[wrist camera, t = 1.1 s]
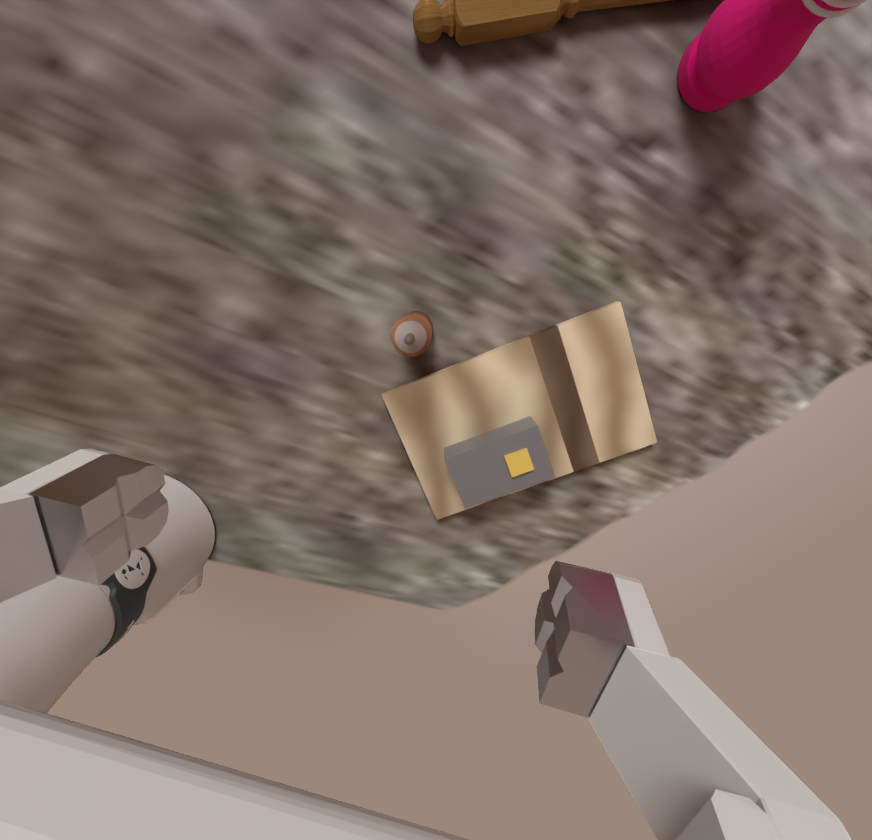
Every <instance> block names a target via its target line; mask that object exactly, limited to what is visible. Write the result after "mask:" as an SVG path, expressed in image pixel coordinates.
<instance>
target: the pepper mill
mask: <svg viewBox="0 0 872 840" xmlns="http://www.w3.org/2000/svg"><path fill="white" fill-rule="evenodd" d="M865 1H866V0H724V1H723V2H722V3H721V4H720V5H719V6H718V7H717V8H716V10H715V11H714V12H713V13H712V15H711V16H710V18H709V19H708V21H707V23H706V24H705V26H704V29H703V31H702V32H701V33H700V34H699V35H698V36H697V37H696V38H695V39H694V40H693V41H692V42H691V44H690V45H689V46H688V48H687V49H686V51H685V52H684V54H683V57H682V59H681V62H680V65H679V70H678V86H679V90H680V93H681V95H682V97H683V99H684V101H685V102H686V103H687V104H688V105H689V106H690V107H691V108H693V109H695V110H698V111H702V112H713V111H717V110H720V109H722V108H724V107H726V106H727V105H729V104H730V103H732V102H733V101H735V100H736V99H742V98H746V97H749V96H751V95H753V94H756V93H757V92H759V91H761V90H762V89H764V88H765V87H766V86H768V85H769V84H770V83H771V82H773V81H774V80H775V79H776V78H778V77H779V76H780V75H781V74H782V73H783V72H784V71H785V70H786V68H787V67H788V66H789V65H790V64H791V62H792V61H793V60H794V59H795V57H796V56H797V55H798V54H799V52H800V50H801V49H802V47H803V46H804V44H805V42H806V41H807V39H808V38H809V36H810V34H811V33H812V32H813V30H814V29H815V27H816V26H817V25H818V24H819V23H821V22H822V21H823V20H824V19H826V18H832V17H838V16H842V15H844V14H846V13H848V12H850V11H852V10H854V9H855V8H856V7H858V6H859V5H860V4H861V3H863V2H865Z"/></svg>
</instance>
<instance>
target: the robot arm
mask: <svg viewBox="0 0 872 840" xmlns="http://www.w3.org/2000/svg"><path fill="white" fill-rule="evenodd" d="M214 541H215V529H214V524H213V520H212V518H211V515H210V513H209V511H208V509H207V507H206V506H205V504H204V503H203V502H202V500H201V499H200V498H199V497H198V496H197V495H196V494H195V493H194V492H193V491H192V490H191V489H190V488H188V487H187V486H186V485H184V484H183V483H181V482H179V481H177V480H175V479H173V478H171V477H169V476H166V475H164V473H163V470H162V469H161V468H159V467H158V466H156V465H153V464H149V463H145V462H142V461H138V460H134V459H130V458H126V457H123V456H119V455H115V454H110V453H106V452H102V451H98V450H94V449H80V450H78V451H76V452H74V453H72V454H70V455H68V456H66V457H64V458H61V459H59V460H57V461H55V462H53V463H51V464H49V465H47V466H45V467H43V468H40V469H38V470H36V471H34V472H32V473H30V474H28V475H26V476H24V477H22V478H19V479H17V480H15V481H13V482H11V483H9V484H7V485H5V486H3V487H1V488H0V840H469V839H465V838H462V837H459V836H455V835H452V834H449V833H445V832H442V831H439V830H435V829H432V828H428V827H425V826H421V825H419V824H415V823H412V822H408V821H405V820H402V819H398V818H395V817H391V816H389V815H385V814H382V813H378V812H375V811H372V810H368V809H365V808H362V807H358V806H355V805H352V804H348V803H345V802H342V801H338V800H335V799H332V798H328V797H325V796H322V795H318V794H315V793H311V792H308V791H304V790H302V789H298V788H295V787H291V786H288V785H284V784H281V783H278V782H274V781H271V780H268V779H264V778H261V777H258V776H255V775H251V774H248V773H245V772H241V771H238V770H234V769H231V768H228V767H225V766H221V765H218V764H214V763H211V762H208V761H204V760H201V759H198V758H194V757H191V756H188V755H184V754H181V753H178V752H174V751H171V750H168V749H164V748H161V747H158V746H154V745H151V744H148V743H144V742H141V741H137V740H134V739H131V738H127V737H124V736H121V735H117V734H114V733H111V732H107V731H104V730H101V729H97V728H94V727H91V726H87V725H83V724H80V723H77V722H74V721H70V720H67V719H64V718H60V717H57V716H53V715H50V714H47V713H48V711H49V710H50V709H51V708H52V706H53V705H54V704H55V703H56V701H57V700H58V699H59V698H60V697H61V695H62V694H63V693H64V692H65V691H66V690H67V688H68V687H69V686H70V685H71V684H72V682H73V681H74V680H75V679H76V678H77V677H78V676H79V674H80V673H81V672H82V671H83V670H84V669H85V668H86V667H87V666H88V665H89V664H90V662H91V661H92V660H93V659H94V658H96V657H98V656H100V655H102V654H103V653H105V652H106V651H107V650H108V649H110V648H111V647H112V646H113V645H114V644H115V643H117V642H118V641H119V640H120V639H121V638H122V637H123V636H124V635H125V634H126V633H127V632H128V631H129V630H130V628H131V627H132V625H137V624H140V623H148V622H150V621H151V620H153V619H154V618H155V617H156V616H157V615H158V614H159V613H160V612H161V611H162V610H163V609H164V608H165V607H166V606H167V605H168V604H169V603H170V602H171V601H172V600H173V599H174V598H175V597H176V596H177V595H181V594H188V593H191V592H194V591H195V590H196V589H197V588H198V587H199V586H200V585H201V582H202V571H203V566H204V564H205V562H206V561H207V559H208V558H209V556H210V554H211V552H212V549H213V546H214ZM548 579H549V588H550V589H549V590H547V591H545V592H543V593H542V595H541V598H540V601H539V605H538V608H537V614H536V620H535V645H536V646H537V647H538V649H539V650H540V652H541V653H542V655H541V657H540V660H539V662H538V665H537V676H538V690H539V703H541V704H544V705H548V706H551V707H554V708H558V709H561V710H564V711H568V712H571V713H574V714H578V715H581V716H585V717H588V718H589V722H590V724H591V726H592V728H593V729H594V731H595V732H596V734H597V736H598V738H599V740H600V741H601V743H602V745H603V747H604V748H605V750H606V752H607V753H608V755H609V757H610V759H611V760H612V762H613V764H614V765H615V767H616V769H617V771H618V772H619V774H620V776H621V778H622V779H623V781H624V783H625V784H626V786H627V788H628V789H629V791H630V793H631V795H632V796H633V798H634V800H635V802H636V803H637V805H638V807H639V808H640V810H641V812H642V814H643V815H644V817H645V819H646V821H647V822H648V824H649V826H650V827H651V829H652V831H653V832H654V834H655V836H656V838H657V840H851V838H850V836H849V834H848V833H847V831H846V829H845V828H844V826H843V824H842V822H841V821H840V820H839V819H838V818H837V817H836V816H835V815H834V814H833V813H832V812H831V811H830V810H829V809H828V808H827V807H826V806H825V805H824V804H823V803H822V802H821V801H820V800H819V799H818V798H817V797H816V796H815V794H813V793H812V792H811V790H810V789H808V787H807V786H805V784H803V782H801V780H799V778H798V777H796V775H794V773H793V772H792V771H791V770H789V768H788V767H787V766H786V765H785V764H784V763H783V762H781V760H780V759H778V757H777V756H776V755H775V754H774V753H773V752H772V751H771V750H770V749H769V748H768V747H766V745H765V744H764V743H763V742H762V741H761V740H760V739H759V738H758V737H757V736H756V735H755V734H754V733H753V732H752V731H751V730H750V729H749V728H748V727H747V726H746V725H745V724H744V723H743V722H742V721H741V720H740V719H739V718H738V717H737V716H736V715H735V714H734V713H733V712H732V711H731V710H730V709H729V708H728V707H727V706H726V705H725V704H724V703H723V702H722V701H721V700H720V699H719V698H718V697H717V696H716V695H715V694H714V693H713V692H712V691H711V690H710V689H709V688H708V687H707V686H706V685H705V684H704V683H703V682H702V681H701V680H700V679H699V678H698V677H697V676H696V675H695V674H694V673H693V672H692V671H691V670H690V669H689V668H688V667H687V666H686V665H685V664H684V663H683V662H682V661H681V660H680V659H678V658H674V657H670V654H669V652H668V649H667V647H666V644H665V642H664V639H663V637H662V634H661V632H660V629H659V627H658V624H657V622H656V619H655V617H654V614H653V612H652V609H651V607H650V604H649V601H648V599H647V596H646V594H645V592H644V589H643V587H642V584H641V582H640V581H639V580H638V579H637V578H633V577H628V576H623V575H618V574H614V573H606V572H602V571H597V570H593V569H589V568H584V567H580V566H576V565H572V564H567V563H563V562H559V561H555V563H554V564H553V566H552V568H551V570H550V573H549V575H548Z"/></svg>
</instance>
